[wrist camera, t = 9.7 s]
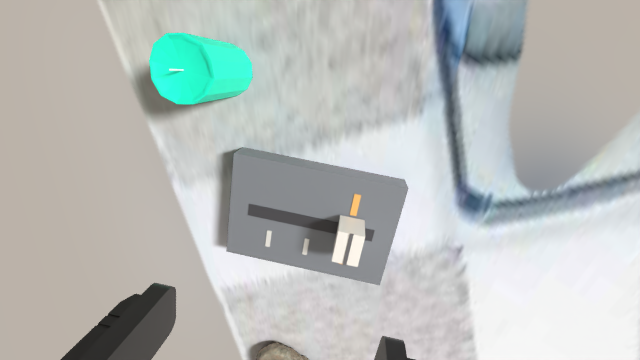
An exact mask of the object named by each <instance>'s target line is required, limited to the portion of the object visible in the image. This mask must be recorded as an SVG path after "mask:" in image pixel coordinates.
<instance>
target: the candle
mask: <svg viewBox="0 0 640 360" xmlns="http://www.w3.org/2000/svg"><path fill="white" fill-rule="evenodd" d="M149 63H150V71H151V79H152V81H153V83H154V85H155V86H156V88H157V90H158V92H159V94H160V95H161V96H163V97H165V98H167V99H168V100H170V101H172V102H174V103H176V104H197V103H203V102H208V101H213V100H218V99H223V98H228V97H234V96H238V95H239V94H241V93H242V92H244V91H245V90H247V89H248V86H249V84H250V82H251V80H252V78H253V77H252V63H251V62H250V60H249V58H248V57H247V55H246V53H245V52H244V51H243V50H242V49H240V48H238V47H237V46H235V45H233V44H231V43H226V42H222V41H217V40H213V39H208V38H204V37H200V36H195V35H191V34H186V33H166V34H165V35H164V36H163V37H161V38H160V39H159V40H158V41H156V42H155V43H154V44H153V48H152V52H151V56H150V60H149Z"/></svg>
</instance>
